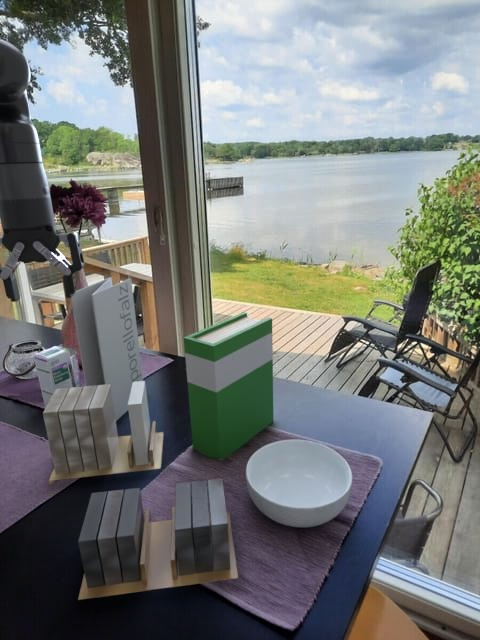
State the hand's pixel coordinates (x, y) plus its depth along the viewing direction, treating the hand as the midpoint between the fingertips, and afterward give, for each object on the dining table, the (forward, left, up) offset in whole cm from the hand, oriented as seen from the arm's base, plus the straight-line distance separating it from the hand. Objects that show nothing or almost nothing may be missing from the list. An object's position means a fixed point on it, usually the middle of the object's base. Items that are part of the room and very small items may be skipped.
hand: (43, 298), depth 72 cm
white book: (+12, +3, -33) cm, 36 cm away
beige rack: (+7, +3, -34) cm, 35 cm away
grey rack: (+17, -22, -34) cm, 44 cm away
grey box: (+5, +23, -34) cm, 42 cm away
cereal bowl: (+39, -15, -34) cm, 54 cm away
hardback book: (+31, +7, -34) cm, 47 cm away
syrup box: (-9, +26, -34) cm, 44 cm away
